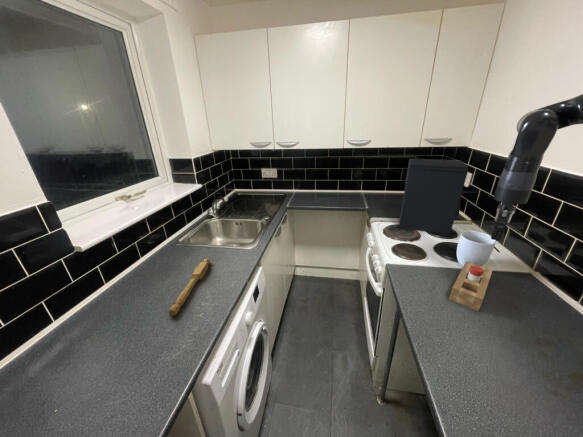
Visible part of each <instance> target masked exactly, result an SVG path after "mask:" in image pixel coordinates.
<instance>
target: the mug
mask: <svg viewBox="0 0 583 437" xmlns="http://www.w3.org/2000/svg"><path fill="white" fill-rule="evenodd" d="M491 236H492V235H491V234H490V235H489V234H487V233H483V232H481V231H476V230H465V231H462V232H461V233H460V236H459V239H458V242H457V246H456V259H457V262H458V263H459V265H460V266H462V267H463V266H464V264H465V262H466V261H467V262H470V263H473V264H476V265H480V266H483V267H484V265H486V263H487V262H488V261H489V259H490V257H491V256H492V254H493V251H494V249H495V245H496V243H497V240H492V239H491Z"/></svg>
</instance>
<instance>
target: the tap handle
mask: <svg viewBox="0 0 583 437" xmlns="http://www.w3.org/2000/svg"><path fill="white" fill-rule="evenodd" d="M210 263H211V260H210V259H209V258H204V259H203V261H201V262H199V263H198V264H197V266H196V267H195V269H193V272H191V277H190V281H189V282H188V283H187V285H186V286H185V288H184V289H183V290H182V291H181V292H180V294H179V295H178V296H177V298H176V299H175V301H174V302H173V304H172V306H170V308H169V309H168V311H167V312H168V314H169V315H170V316H176V315H178V313H179V311H180V310H181V308H182V307H183V305H184V304H185V302H186V301H187V299H188V297H189V296H190V293H191V292H192V291H193V288H194V287H195V285H196V283H198V281H201V280H202V279H203V278H204V276H205V275H206V273H207V271H208V269H209V264H210Z"/></svg>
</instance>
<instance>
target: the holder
mask: <svg viewBox="0 0 583 437" xmlns="http://www.w3.org/2000/svg"><path fill="white" fill-rule="evenodd" d="M471 266H477V267H480V268H482V269H483V273H482V276H481V279H480V281H479V283H476V282H474V281H471V280H468V279H467V277H468V274H469V271H470V268H471ZM492 273H493V269H492V268H489V267H485V266H484V265H483V266H480V265H476V264H473V263H470V262H467V261H466V262H465V264H464V266H462V268H461V270H460V272H459V274H458V276H457V278H456V279H455V282H454V284H453V286H452V288H451V291H450V294H449V297H448V299H449V300H450V301H453V302H455V303H457V304H460V305H462V306H465V307H467V308H469V309H471V310H474V311H476V312H479V311H480V309H481V307H482V303H483V301H484V298H485V296H486V292H487V289H488V286H489V282H490V280H491V277H492Z"/></svg>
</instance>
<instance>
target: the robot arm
mask: <svg viewBox="0 0 583 437" xmlns="http://www.w3.org/2000/svg"><path fill="white" fill-rule="evenodd" d="M574 125H583V93H581V94H579V95H577V96H574V97H572V98H569V99H565V100H562V101H558V102H556V103H552V104H549V105H546V106H542V107H540V108H536V109H534V110H531V111H529V112H527V113H525V114H524V115H522V117H520V118H519V120H518V121H517V123H516V131H517V135H516V139H515V141H514V144H513V147H512V150H510V152H509V154H508V156H507V158H506V161H505V165H504V168H503V170H502V172H501V173H500V176H499V179H498V182H497V185H496V189H495V191H494V195H493V199H494V200H495V201H497V202H498V203H499V204H498V205H497V209H496V214H495V217H494V221H495V223H494V225H493V230H492V234H491V235H490V236H491V239H492V240H496V242H499V241H501V239H502V237H503V233H504V232H505V231H506V229H507V225H508V224H510V222H511V220H512V217H513V216H514V214H515V213H516V209H517V206H514V205H518V206H521V205H525V204H527V203H528V202H529V200H530V197H531V194H532V191H533V188H534V186H535V184H536V180H537V176H538V172H539V170H540V167H541V165H542V162H543V160H544V156H545V153H546V152H547V150H548V148H549V147H550V145H551V143H552V141H553V140H554V138H555V136H556V134H557V131H558V130H561V129H564V128H568V127H570V126H574ZM501 203H502V204H501Z"/></svg>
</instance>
